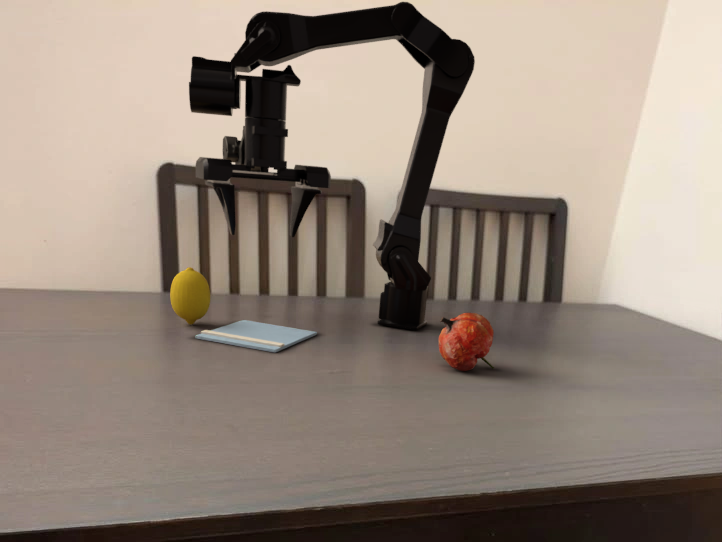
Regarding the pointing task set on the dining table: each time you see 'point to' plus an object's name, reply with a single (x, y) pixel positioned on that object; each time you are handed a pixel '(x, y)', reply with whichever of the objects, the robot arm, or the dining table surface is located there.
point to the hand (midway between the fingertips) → (262, 235)
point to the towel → (256, 335)
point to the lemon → (190, 295)
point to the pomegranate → (465, 340)
